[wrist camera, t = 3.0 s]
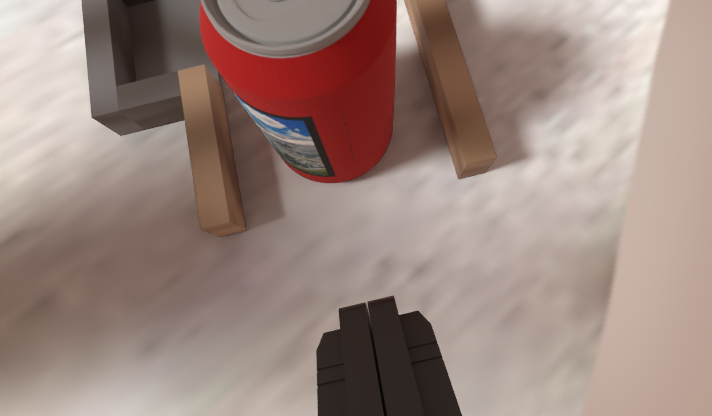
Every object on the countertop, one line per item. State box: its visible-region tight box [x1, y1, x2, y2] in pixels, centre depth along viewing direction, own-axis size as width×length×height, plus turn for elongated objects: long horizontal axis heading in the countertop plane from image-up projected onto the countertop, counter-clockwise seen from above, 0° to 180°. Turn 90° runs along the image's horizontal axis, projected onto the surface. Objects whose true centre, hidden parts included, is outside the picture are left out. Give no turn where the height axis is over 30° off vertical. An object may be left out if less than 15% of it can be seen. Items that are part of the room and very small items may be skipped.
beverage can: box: [199, 0, 397, 183], centre depth 18 cm, size 7×7×12 cm
